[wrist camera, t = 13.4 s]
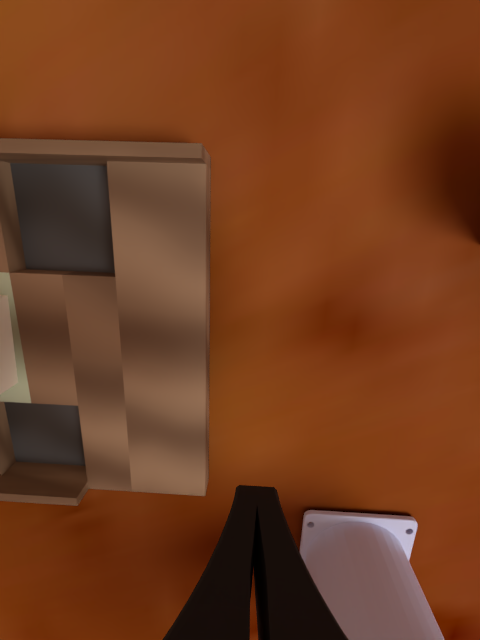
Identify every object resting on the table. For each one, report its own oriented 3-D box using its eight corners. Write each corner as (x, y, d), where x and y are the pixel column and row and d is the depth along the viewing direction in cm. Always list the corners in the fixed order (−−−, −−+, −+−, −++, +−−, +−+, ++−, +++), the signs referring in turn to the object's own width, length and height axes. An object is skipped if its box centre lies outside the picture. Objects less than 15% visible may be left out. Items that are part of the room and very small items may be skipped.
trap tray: (208, 478, 23) (201, 514, 20) (-34, 463, 24) (-74, 495, 21) (210, 157, 17) (201, 143, 14) (-112, 148, 18) (-183, 133, 15)
